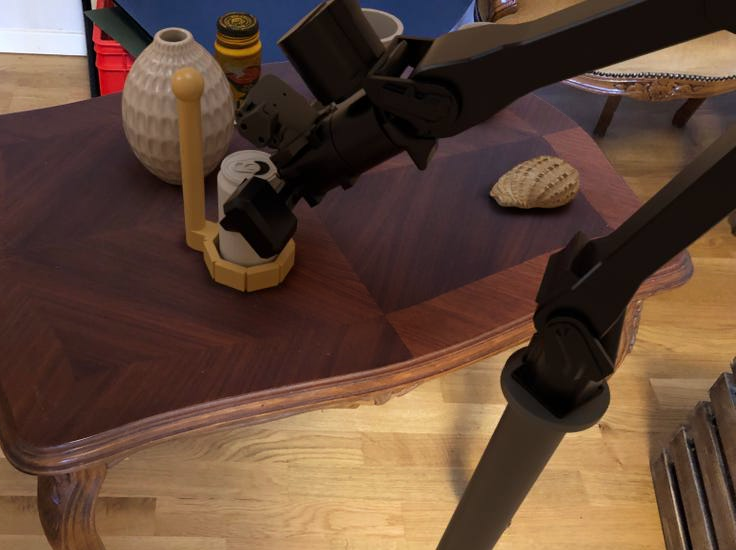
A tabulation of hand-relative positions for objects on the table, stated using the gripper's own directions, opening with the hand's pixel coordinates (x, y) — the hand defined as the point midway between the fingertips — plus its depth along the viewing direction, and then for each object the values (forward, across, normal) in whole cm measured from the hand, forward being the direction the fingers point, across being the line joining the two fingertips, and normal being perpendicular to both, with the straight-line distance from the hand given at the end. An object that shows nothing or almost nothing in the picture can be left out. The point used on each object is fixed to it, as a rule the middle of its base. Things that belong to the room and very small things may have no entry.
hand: (238, 207), depth 72 cm
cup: (+4, -33, +5) cm, 33 cm away
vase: (+14, -11, -4) cm, 18 cm away
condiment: (+15, -27, -5) cm, 31 cm away
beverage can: (+4, 0, +6) cm, 7 cm away
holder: (+5, 0, +4) cm, 7 cm away
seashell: (-14, -25, +24) cm, 37 cm away
